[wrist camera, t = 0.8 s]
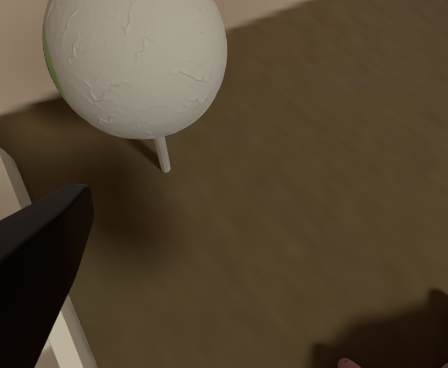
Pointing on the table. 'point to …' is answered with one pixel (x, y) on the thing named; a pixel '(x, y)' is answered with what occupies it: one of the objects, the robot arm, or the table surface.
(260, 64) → the table surface
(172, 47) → the lollipop
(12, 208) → the tray
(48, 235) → the robot arm
